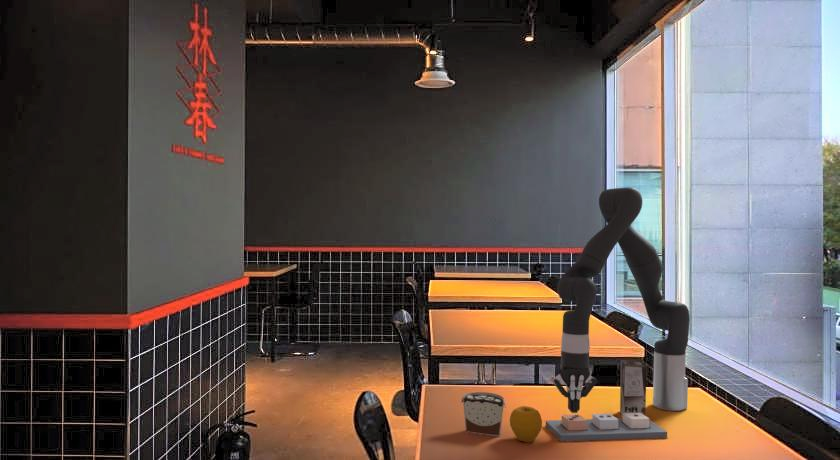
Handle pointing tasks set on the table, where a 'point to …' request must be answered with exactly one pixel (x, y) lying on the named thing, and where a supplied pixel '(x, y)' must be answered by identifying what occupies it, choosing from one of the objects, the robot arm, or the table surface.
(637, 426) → the tile one
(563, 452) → the table surface
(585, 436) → the button board
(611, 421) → the tile two
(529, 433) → the apple
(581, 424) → the tile three
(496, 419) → the food container
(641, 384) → the coffee box
